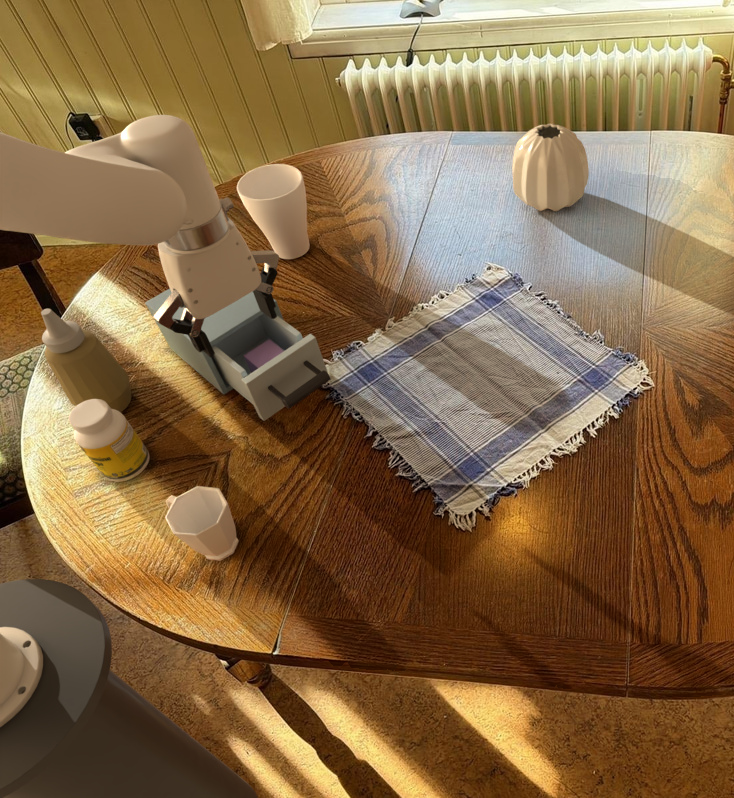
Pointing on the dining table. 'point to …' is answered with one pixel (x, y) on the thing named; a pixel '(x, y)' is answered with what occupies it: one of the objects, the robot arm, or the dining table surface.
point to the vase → (549, 168)
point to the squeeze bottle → (84, 364)
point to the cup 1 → (203, 522)
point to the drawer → (271, 365)
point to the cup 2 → (278, 207)
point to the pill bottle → (108, 440)
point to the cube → (262, 355)
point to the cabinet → (209, 333)
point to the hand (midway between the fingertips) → (238, 332)
